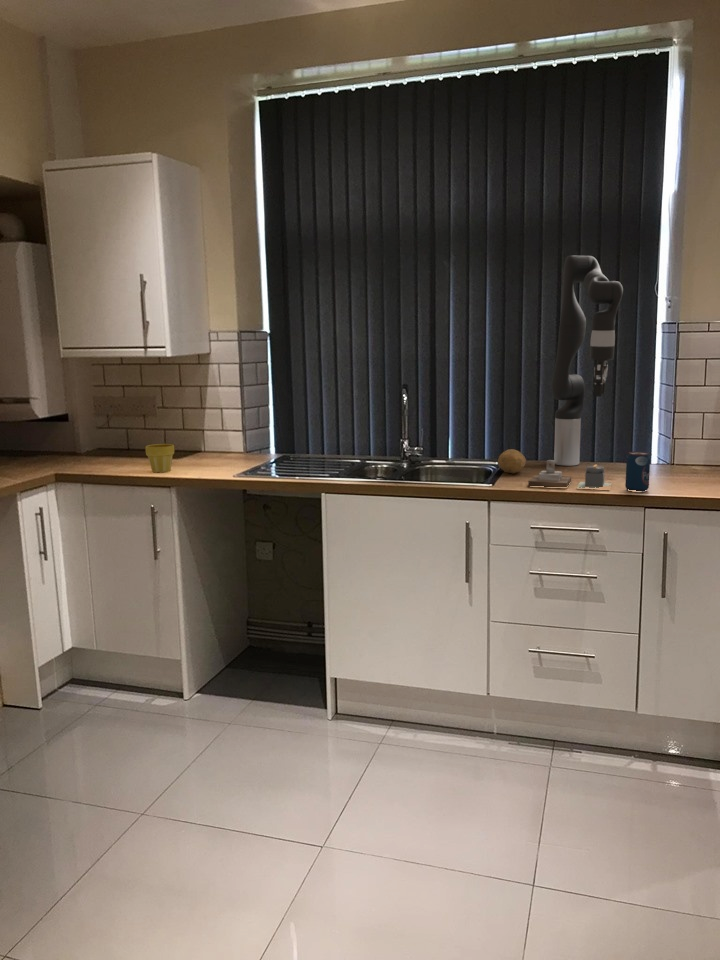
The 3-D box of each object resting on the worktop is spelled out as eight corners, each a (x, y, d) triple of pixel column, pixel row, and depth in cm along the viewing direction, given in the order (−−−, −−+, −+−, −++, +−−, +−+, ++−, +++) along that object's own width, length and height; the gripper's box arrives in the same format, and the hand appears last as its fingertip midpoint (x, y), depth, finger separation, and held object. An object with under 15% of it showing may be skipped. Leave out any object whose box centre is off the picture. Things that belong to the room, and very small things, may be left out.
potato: (497, 476, 281) (497, 453, 279) (498, 469, 294) (498, 447, 293) (525, 476, 279) (526, 454, 278) (525, 469, 293) (526, 447, 291)
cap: (604, 484, 261) (605, 464, 260) (602, 487, 256) (603, 467, 255) (586, 483, 263) (587, 463, 262) (584, 486, 258) (585, 466, 257)
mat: (580, 483, 266) (580, 481, 266) (611, 485, 262) (611, 483, 262) (576, 489, 257) (576, 487, 257) (609, 491, 253) (609, 489, 253)
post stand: (534, 480, 272) (535, 457, 271) (571, 482, 268) (571, 458, 266) (528, 487, 261) (529, 462, 260) (566, 489, 257) (567, 464, 255)
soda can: (648, 493, 249) (650, 455, 246) (624, 492, 251) (626, 454, 249) (649, 489, 255) (650, 451, 253) (625, 488, 257) (627, 450, 255)
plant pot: (153, 468, 308) (152, 443, 306) (179, 469, 307) (178, 443, 305) (142, 473, 298) (140, 447, 296) (169, 473, 297) (167, 447, 295)
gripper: (612, 346, 253) (609, 397, 256) (616, 343, 266) (613, 393, 269) (587, 345, 256) (584, 396, 259) (593, 343, 269) (590, 392, 272)
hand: (599, 395), depth 264 cm, fingers open, 8 cm apart
